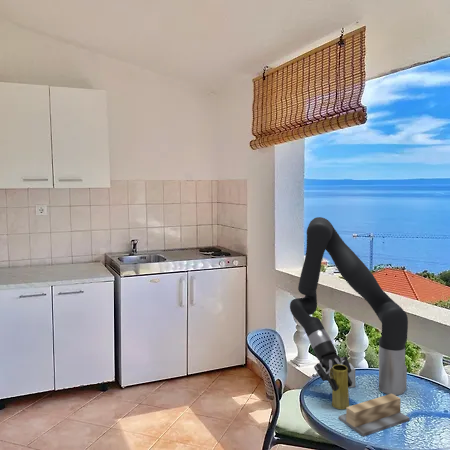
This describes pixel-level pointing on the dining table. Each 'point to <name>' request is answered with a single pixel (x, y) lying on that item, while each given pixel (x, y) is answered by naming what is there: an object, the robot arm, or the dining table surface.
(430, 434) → the dining table surface
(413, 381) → the dining table surface
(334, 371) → the vase
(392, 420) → the ridge
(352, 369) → the skincare box
